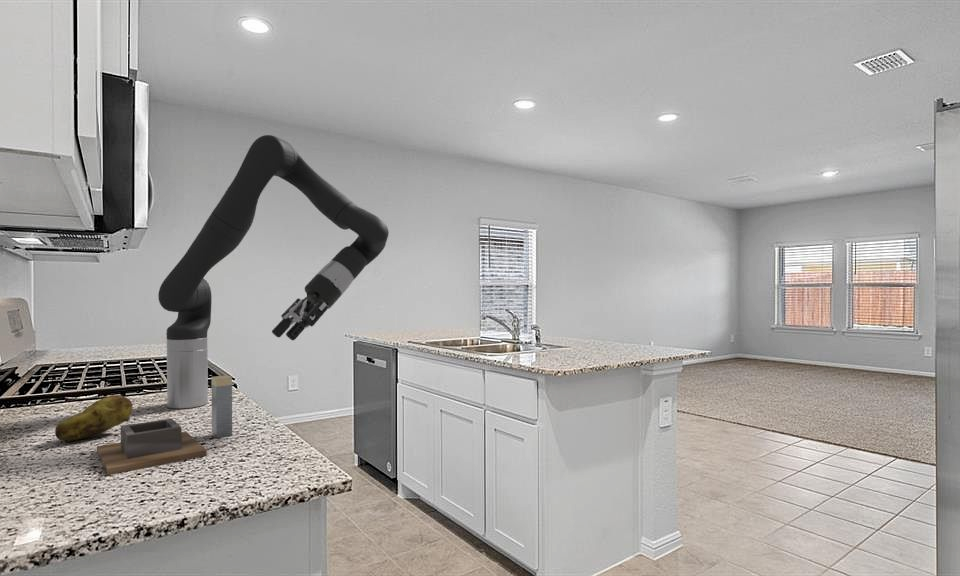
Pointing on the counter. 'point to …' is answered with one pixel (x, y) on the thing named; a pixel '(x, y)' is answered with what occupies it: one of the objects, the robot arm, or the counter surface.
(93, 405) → the potato
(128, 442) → the well board
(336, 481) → the counter surface
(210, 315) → the robot arm
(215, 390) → the tall square pillar
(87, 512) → the counter surface
